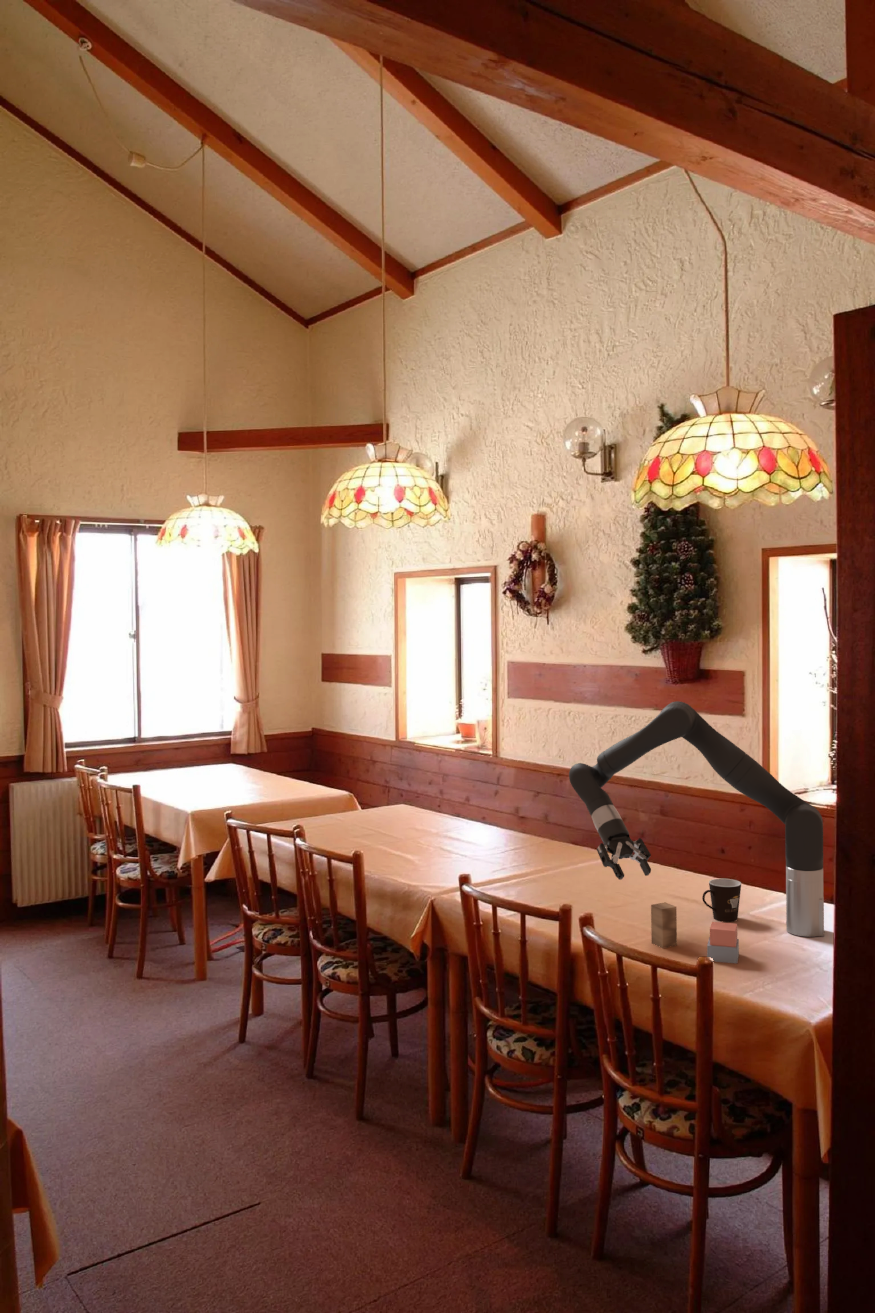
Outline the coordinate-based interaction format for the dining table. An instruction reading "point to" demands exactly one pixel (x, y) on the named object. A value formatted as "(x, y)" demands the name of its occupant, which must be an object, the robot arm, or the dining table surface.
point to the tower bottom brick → (723, 953)
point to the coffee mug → (724, 899)
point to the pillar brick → (664, 925)
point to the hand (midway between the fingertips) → (635, 876)
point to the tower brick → (723, 934)
